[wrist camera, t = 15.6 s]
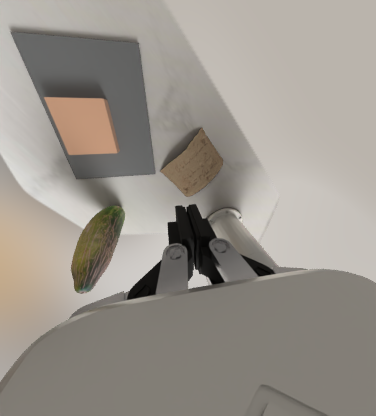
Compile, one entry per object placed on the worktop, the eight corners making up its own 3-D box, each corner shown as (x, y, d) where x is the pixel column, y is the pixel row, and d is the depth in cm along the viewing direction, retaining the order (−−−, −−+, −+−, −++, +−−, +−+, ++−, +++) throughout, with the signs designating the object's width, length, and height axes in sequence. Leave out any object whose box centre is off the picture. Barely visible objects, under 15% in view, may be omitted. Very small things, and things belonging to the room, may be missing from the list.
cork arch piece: (202, 124, 29) (206, 124, 27) (227, 159, 34) (232, 162, 32) (156, 173, 33) (156, 177, 30) (185, 198, 38) (187, 203, 35)
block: (117, 153, 26) (68, 155, 24) (119, 151, 28) (74, 152, 26) (103, 98, 21) (43, 97, 20) (107, 100, 23) (53, 99, 22)
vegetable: (99, 216, 35) (49, 304, 18) (100, 194, 32) (41, 274, 15) (125, 219, 37) (102, 301, 20) (128, 199, 34) (103, 274, 17)
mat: (155, 173, 32) (155, 174, 31) (77, 178, 29) (76, 179, 29) (138, 44, 21) (138, 43, 21) (14, 34, 19) (10, 31, 18)
